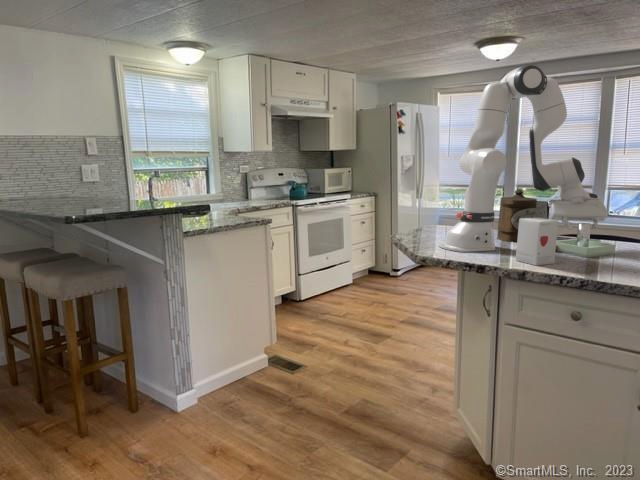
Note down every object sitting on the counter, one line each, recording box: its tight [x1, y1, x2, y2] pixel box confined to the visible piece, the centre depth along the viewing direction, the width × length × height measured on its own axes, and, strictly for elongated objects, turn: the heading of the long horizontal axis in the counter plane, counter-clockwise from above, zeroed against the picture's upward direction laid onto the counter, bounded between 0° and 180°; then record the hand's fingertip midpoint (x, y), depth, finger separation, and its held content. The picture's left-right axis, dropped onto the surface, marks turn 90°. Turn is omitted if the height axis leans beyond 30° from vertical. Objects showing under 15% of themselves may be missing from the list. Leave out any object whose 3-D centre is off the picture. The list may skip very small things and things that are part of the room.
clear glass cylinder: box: [576, 222, 592, 247], centre depth 178 cm, size 4×4×10 cm
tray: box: [556, 238, 616, 258], centre depth 179 cm, size 16×15×4 cm
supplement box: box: [515, 218, 559, 266], centre depth 160 cm, size 9×9×15 cm
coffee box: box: [536, 200, 550, 219], centre depth 213 cm, size 9×6×16 cm
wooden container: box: [496, 188, 538, 243], centre depth 204 cm, size 15×15×22 cm
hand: (582, 227), depth 178 cm, fingers open, 8 cm apart
